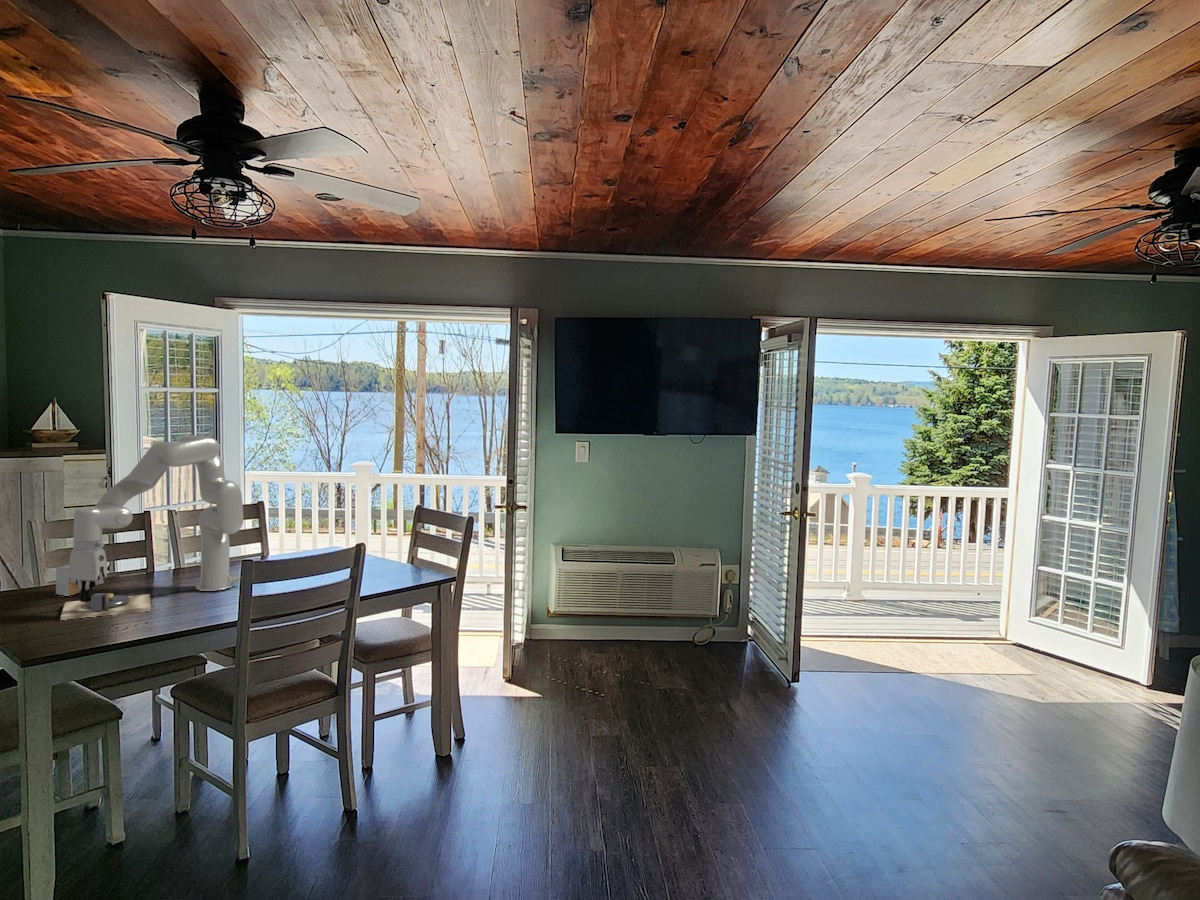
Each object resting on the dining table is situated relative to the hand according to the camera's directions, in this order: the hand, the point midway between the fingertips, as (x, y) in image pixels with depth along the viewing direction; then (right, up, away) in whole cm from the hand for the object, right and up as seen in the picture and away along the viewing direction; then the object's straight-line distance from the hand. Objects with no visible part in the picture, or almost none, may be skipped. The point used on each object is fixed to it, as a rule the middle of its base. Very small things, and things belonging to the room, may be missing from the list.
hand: (86, 600), depth 224 cm
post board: (+1, -5, +8) cm, 9 cm away
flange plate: (+2, -3, +6) cm, 7 cm away
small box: (-22, -3, +23) cm, 32 cm away
